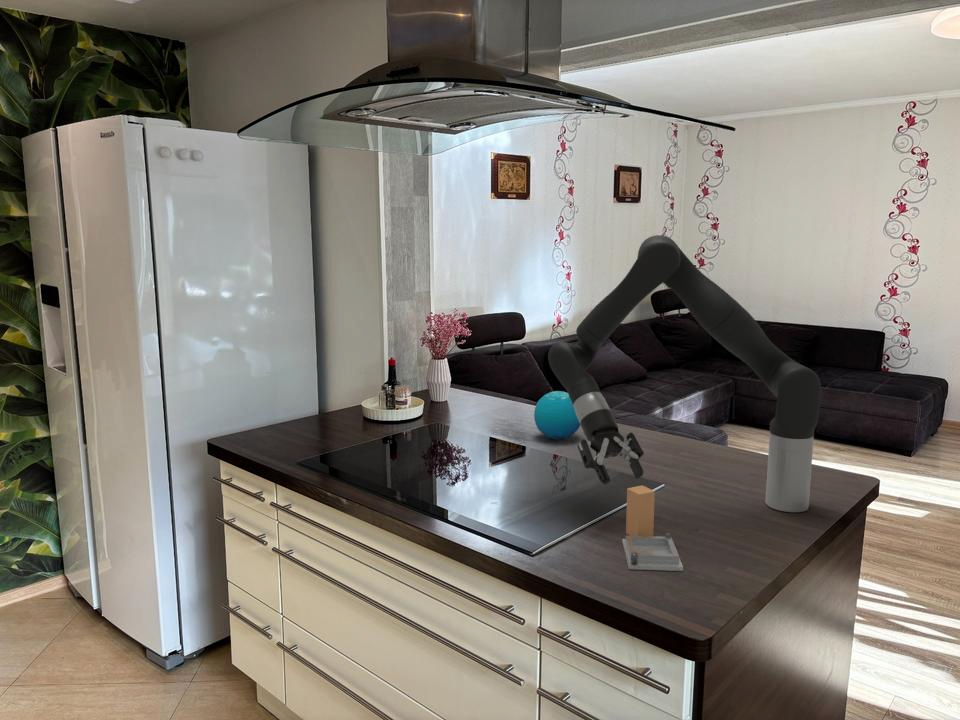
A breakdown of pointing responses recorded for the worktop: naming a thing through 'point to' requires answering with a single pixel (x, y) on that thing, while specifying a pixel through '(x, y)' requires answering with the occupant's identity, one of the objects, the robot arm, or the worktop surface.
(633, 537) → the plate
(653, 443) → the worktop surface
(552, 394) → the decorative orb
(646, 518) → the tan block
